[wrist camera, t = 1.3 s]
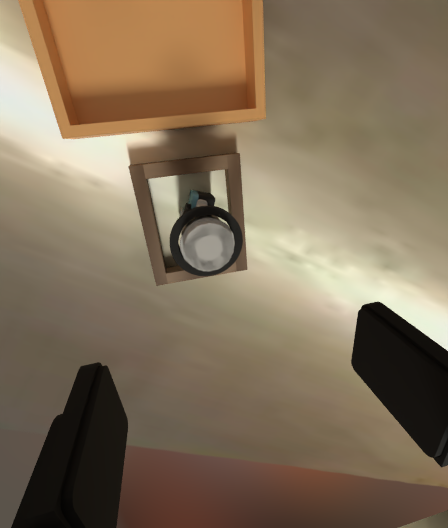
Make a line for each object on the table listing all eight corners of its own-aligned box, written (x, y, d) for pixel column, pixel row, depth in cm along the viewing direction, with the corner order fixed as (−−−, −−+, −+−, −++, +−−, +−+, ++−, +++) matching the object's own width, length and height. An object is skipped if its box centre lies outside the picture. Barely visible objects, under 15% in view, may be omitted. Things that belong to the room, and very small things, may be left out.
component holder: (235, 152, 26) (239, 153, 25) (243, 264, 31) (247, 269, 30) (130, 165, 25) (128, 166, 23) (156, 279, 30) (156, 285, 28)
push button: (211, 253, 30) (232, 301, 21) (162, 246, 28) (161, 294, 19) (225, 193, 27) (255, 217, 18) (172, 181, 26) (177, 203, 17)
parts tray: (246, -80, 20) (259, -116, 17) (254, 121, 25) (265, 118, 22) (7, -83, 17) (-22, -124, 15) (74, 138, 23) (62, 138, 20)
